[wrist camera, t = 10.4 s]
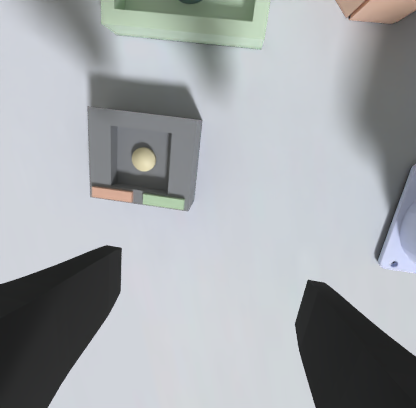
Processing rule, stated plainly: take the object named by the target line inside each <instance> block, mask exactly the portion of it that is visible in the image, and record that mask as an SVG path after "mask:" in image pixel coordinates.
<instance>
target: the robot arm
mask: <svg viewBox="0 0 416 408" xmlns="http://www.w3.org/2000/svg"><path fill="white" fill-rule="evenodd" d="M121 252H122V248H119V247H113V246H108V245H106V246H103V247H100V248H97V249H94V250H92V251H89V252H87V253H84V254H82V255H80V256H77V257H75V258H72V259H70V260H67V261H65V262H62V263H60V264H57V265H55V266H52V267H49V268H47V269H44V270H41V271H38V272H36V273H33V274H30V275H27V276H25V277H22V278H19V279H16V280H13V281H10V282H6V283H3V284H0V408H48V406H49V404H50V403H51V401H52V399H53V397H54V396H55V394H56V392H57V390H58V389H59V387H60V385H61V384H62V382H63V381H64V379H65V378H66V376H67V374H68V373H69V371H70V370H71V368H72V367H73V366H74V364H75V363H76V361H77V360H78V358H79V357H80V356H81V354H82V353H83V351H84V350H85V348H86V347H87V345H88V344H89V343H90V341H91V340H92V338H93V337H94V335H95V334H96V333H97V331H98V330H99V328H100V327H101V325H102V324H103V322H104V321H105V319H106V318H107V316H108V315H109V313H110V311H111V309H112V308H113V306H114V304H115V302H116V300H117V298H118V296H119V294H120V291H121ZM393 261H395V263H394V264H392V265H391V263H392V262H393ZM378 264H379V265H380V266H381V267H382V268H384V269H390V270H396V271H403V272H409V273H416V164H415V165H414V166H413V167H412V168H411V171H410V174H409V176H408V179H407V182H406V185H405V187H404V190H403V193H402V196H401V198H400V201H399V204H398V207H397V209H396V212H395V215H394V217H393V220H392V223H391V226H390V228H389V231H388V234H387V237H386V239H385V242H384V245H383V248H382V250H381V253H380V256H379V259H378ZM295 327H296V334H297V341H298V346H299V352H300V355H301V359H302V363H303V366H304V369H305V373H306V376H307V380H308V383H309V387H310V390H311V393H312V397H313V400H314V403H315V407H316V408H416V356H414V355H413V354H412V353H410V352H409V351H408V350H406V349H405V348H404V347H402V346H401V345H400V344H399V343H397V342H396V341H395V340H393V339H392V338H391V337H390V336H388V335H387V334H386V333H384V332H383V331H382V330H381V329H380V328H378V327H377V326H376V325H375V324H373V323H372V322H371V321H370V320H369V319H368V318H366V317H365V316H364V315H363V314H362V313H360V312H359V311H358V310H357V309H356V308H355V307H353V306H352V305H351V304H350V303H349V302H348V301H346V300H345V299H344V298H343V297H342V296H341V295H339V294H338V293H337V292H336V291H335V290H333V289H332V288H331V287H330V286H328V285H327V284H326V283H323V282H317V281H312V280H308V281H307V284H306V288H305V291H304V295H303V298H302V302H301V305H300V308H299V312H298V315H297V319H296V322H295Z"/></svg>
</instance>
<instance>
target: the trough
mask: <svg viewBox="0 0 416 408" xmlns="http://www.w3.org/2000/svg"><path fill="white" fill-rule="evenodd" d="M269 7H270V0H202V1H200V2H198V3H195V4H186V3H182V2H180V1H179V0H101V24H102V25H104V26H105V27H106V28H108V29H109V30H110V31H112V32H113V33H114V34H116V35H121V36H131V37H141V38H151V39H161V40H171V41H181V42H191V43H201V44H211V45H221V46H231V47H241V48H251V49H261V48H262V45H263V42H264V38H265V32H266V25H267V19H268V13H269Z"/></svg>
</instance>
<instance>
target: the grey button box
mask: <svg viewBox="0 0 416 408" xmlns="http://www.w3.org/2000/svg"><path fill="white" fill-rule="evenodd" d="M201 128H202V120H197V119H189V118H180V117H172V116H164V115H155V114H147V113H139V112H131V111H122V110H114V109H106V108H97V107H89V106H88V136H89V170H90V197H93V198H100V199H107V200H114V201H121V202H128V203H134V204H141V205H148V206H155V207H162V208H169V209H176V210H182V211H189V209H190V207H191V205H192V204H193V202H194V196H195V186H196V176H197V167H198V157H199V147H200V137H201Z"/></svg>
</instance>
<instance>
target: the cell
mask: <svg viewBox="0 0 416 408" xmlns="http://www.w3.org/2000/svg"><path fill="white" fill-rule="evenodd" d="M179 1H180V2H182V3H186V4H195V3H198V2H200V1H202V0H179Z"/></svg>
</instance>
